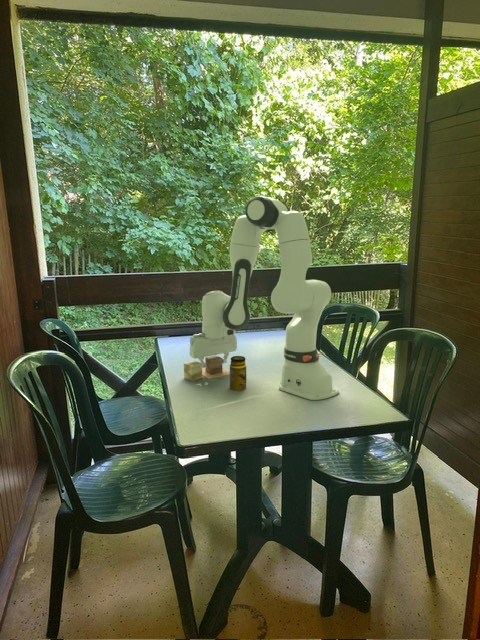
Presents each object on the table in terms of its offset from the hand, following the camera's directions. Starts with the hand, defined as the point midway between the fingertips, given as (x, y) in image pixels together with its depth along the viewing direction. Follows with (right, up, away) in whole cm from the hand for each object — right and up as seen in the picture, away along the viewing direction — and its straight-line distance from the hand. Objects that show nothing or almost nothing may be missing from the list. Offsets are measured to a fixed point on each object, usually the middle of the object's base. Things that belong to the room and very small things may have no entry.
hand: (214, 365), depth 174 cm
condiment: (+9, -7, -16) cm, 19 cm away
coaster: (0, -4, +1) cm, 4 cm away
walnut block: (0, -3, +1) cm, 3 cm away
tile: (-3, -6, -12) cm, 14 cm away
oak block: (-8, -5, -6) cm, 11 cm away
